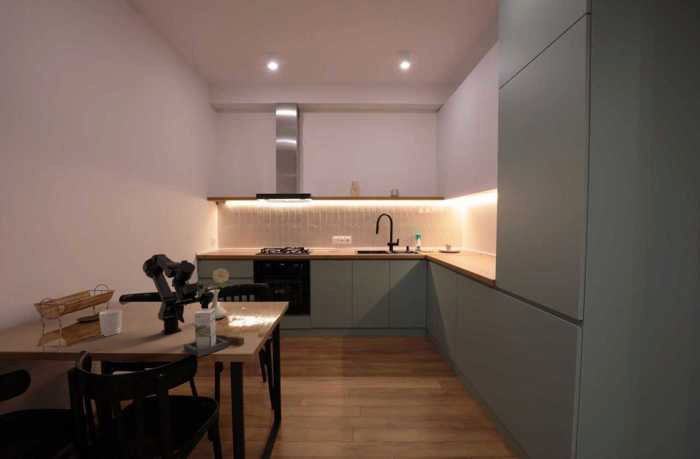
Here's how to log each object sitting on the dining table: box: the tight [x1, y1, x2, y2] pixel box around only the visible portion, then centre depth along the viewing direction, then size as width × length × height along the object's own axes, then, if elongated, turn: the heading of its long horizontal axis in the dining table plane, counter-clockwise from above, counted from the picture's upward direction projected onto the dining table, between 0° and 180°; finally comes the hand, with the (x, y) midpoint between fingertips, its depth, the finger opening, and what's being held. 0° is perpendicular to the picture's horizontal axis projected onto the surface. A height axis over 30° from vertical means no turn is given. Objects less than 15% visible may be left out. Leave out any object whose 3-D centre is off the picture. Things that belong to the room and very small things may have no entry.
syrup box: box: [193, 308, 217, 350], centre depth 116 cm, size 6×6×14 cm
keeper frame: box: [183, 337, 229, 358], centre depth 115 cm, size 11×11×2 cm
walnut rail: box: [216, 332, 245, 346], centre depth 122 cm, size 20×2×2 cm, turn 65°
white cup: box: [98, 308, 123, 337], centre depth 135 cm, size 8×8×10 cm
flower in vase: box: [208, 267, 230, 320], centre depth 155 cm, size 13×11×25 cm
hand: (196, 319), depth 120 cm, fingers open, 9 cm apart
